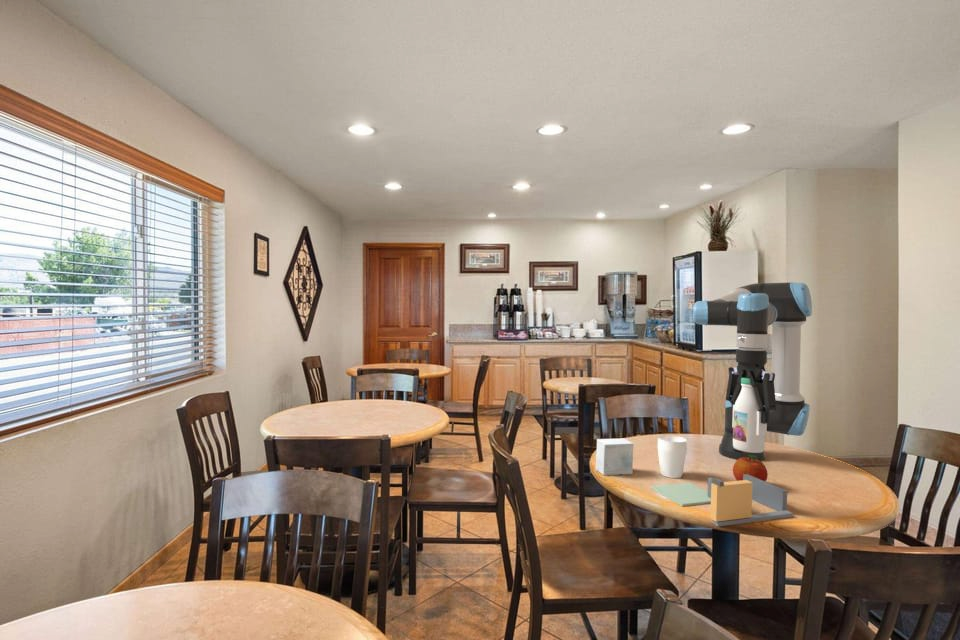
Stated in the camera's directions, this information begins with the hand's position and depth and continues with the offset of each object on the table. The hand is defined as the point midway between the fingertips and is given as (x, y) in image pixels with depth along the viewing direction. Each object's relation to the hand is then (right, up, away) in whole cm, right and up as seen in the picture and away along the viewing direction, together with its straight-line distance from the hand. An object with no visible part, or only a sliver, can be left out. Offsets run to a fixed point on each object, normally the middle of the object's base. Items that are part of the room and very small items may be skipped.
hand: (748, 430), depth 137 cm
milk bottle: (0, -5, 0) cm, 5 cm away
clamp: (-5, -21, -2) cm, 22 cm away
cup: (-12, -20, +25) cm, 35 cm away
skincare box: (-30, -20, +27) cm, 45 cm away
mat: (-14, -21, +8) cm, 26 cm away
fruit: (+9, -21, +17) cm, 28 cm away
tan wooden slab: (-10, -20, -11) cm, 25 cm away
